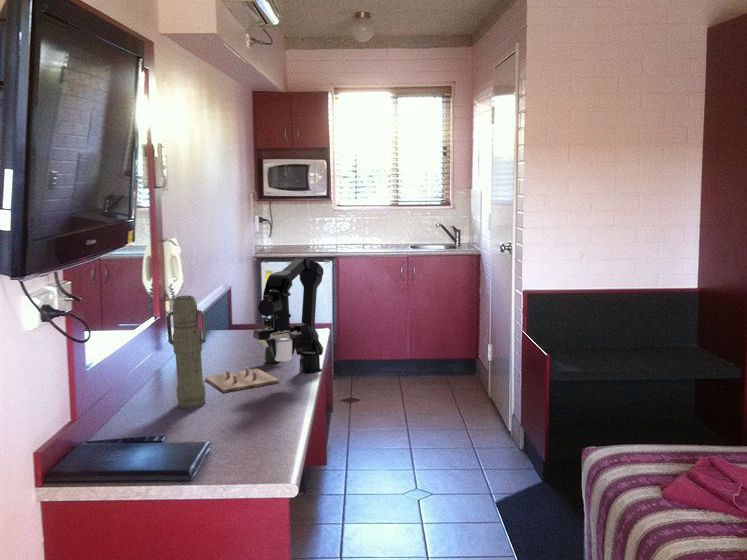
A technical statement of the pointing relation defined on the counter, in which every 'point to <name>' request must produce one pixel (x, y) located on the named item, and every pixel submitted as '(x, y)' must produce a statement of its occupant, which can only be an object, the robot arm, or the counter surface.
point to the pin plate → (241, 379)
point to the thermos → (187, 351)
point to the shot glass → (283, 349)
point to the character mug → (268, 353)
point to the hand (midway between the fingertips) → (283, 355)
